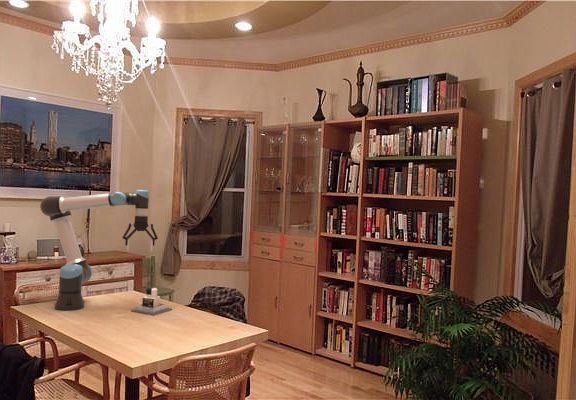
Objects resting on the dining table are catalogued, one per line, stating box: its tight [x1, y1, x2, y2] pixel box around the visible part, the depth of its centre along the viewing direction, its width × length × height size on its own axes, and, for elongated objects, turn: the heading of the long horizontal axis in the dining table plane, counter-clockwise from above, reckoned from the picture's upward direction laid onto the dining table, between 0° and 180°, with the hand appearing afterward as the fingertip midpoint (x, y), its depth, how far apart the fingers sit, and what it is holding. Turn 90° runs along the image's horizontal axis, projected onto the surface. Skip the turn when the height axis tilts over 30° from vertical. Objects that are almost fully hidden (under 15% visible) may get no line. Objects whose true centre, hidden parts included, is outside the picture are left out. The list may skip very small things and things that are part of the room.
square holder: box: [130, 302, 173, 316], centre depth 266 cm, size 16×16×3 cm
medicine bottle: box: [141, 287, 161, 308], centre depth 266 cm, size 7×7×12 cm
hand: (139, 251), depth 281 cm, fingers open, 13 cm apart
